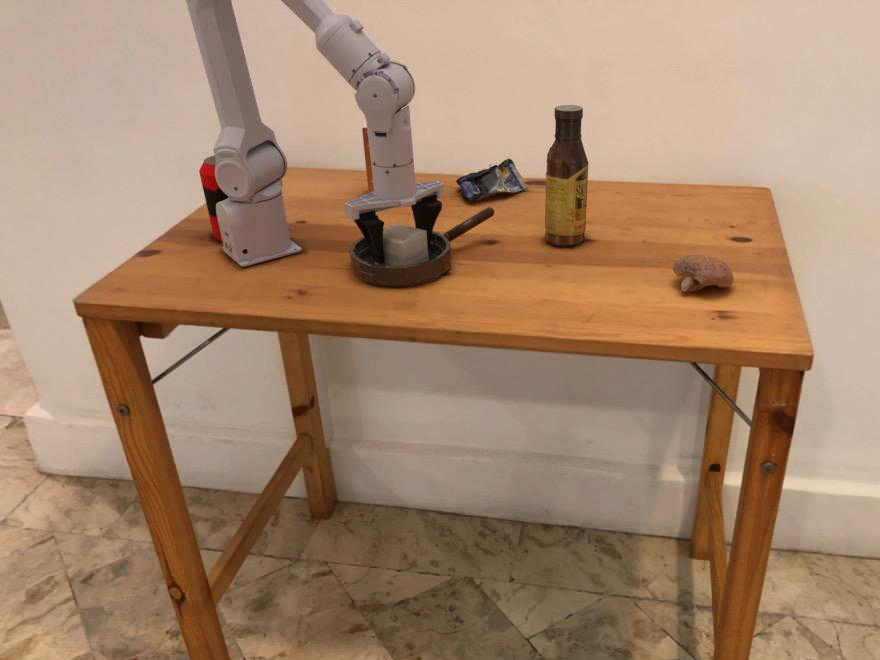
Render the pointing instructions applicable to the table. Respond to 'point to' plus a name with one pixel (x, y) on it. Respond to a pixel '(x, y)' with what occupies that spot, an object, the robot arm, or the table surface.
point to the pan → (401, 274)
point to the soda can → (212, 192)
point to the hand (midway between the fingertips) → (401, 255)
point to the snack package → (491, 181)
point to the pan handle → (469, 224)
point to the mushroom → (702, 272)
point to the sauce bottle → (566, 180)
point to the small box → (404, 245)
